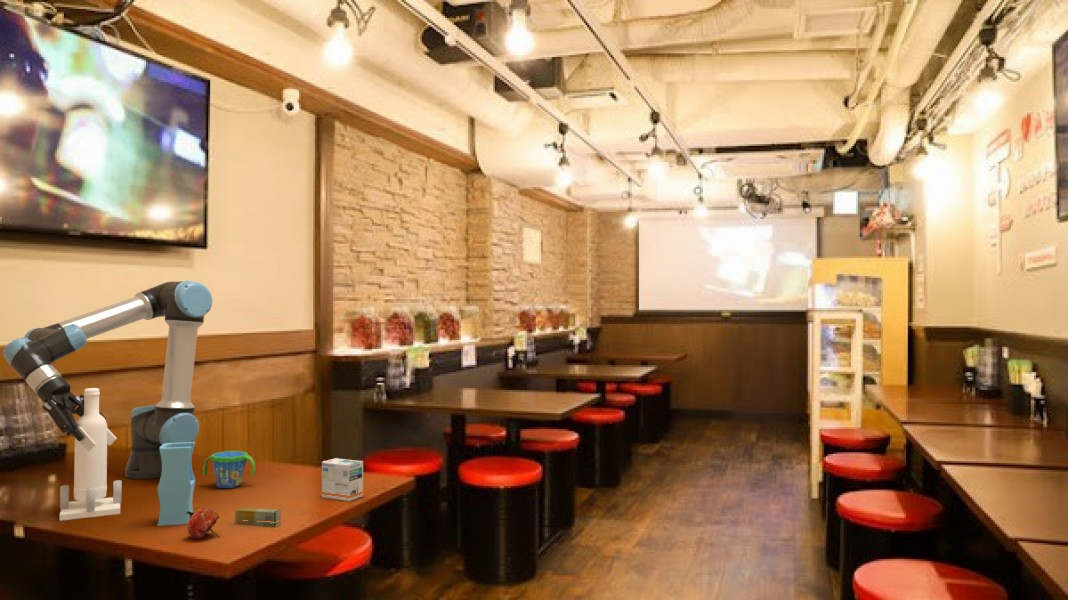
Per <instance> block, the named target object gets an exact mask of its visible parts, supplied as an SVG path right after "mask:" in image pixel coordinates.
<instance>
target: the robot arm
mask: <svg viewBox="0 0 1068 600" xmlns="http://www.w3.org/2000/svg"><path fill="white" fill-rule="evenodd" d="M212 305H213V296H212V293H211V292H210V290H209V289H208V288H207V286H206V285H204V284H203V283H200V282H199V281H198V282H197V281H192V280H183V281H167V282H164V283H163V282H162V283H161V284H158V285H154V287H151V288H148V289H145V290H142V291H140V292H136V294H135V295H134V297H131V298H128V299H126V300H125V299H124V300H122V301H119V302H116V303H114V304H111V305H107V306H104V307H102V308H99V309H96V310H93V311H90V312H87V313H83V314H81V315H78V316H75V317H74V316H73V317H72V318H69V319H65V320H61V321H59V322H56V323H54V324H51V325H48V326H45V327H37V328H32V329H30V330H29V331H27V332H26V333H25V334H24V337H21V338H20V337H19V338H16V339H14V340H12V341H10V342H9V343H7V345H5V347H4V348H3V349H2V356H3V357H4V359H5V360H6V362H7V363H8V364H9V366H10V367H12V368H13V370H14V372H16V373H17V375H19V376H20V377H21V379H23V380H24V381H25V382H26V384H27V385H28V386H29V387H30V388H31V389H32V390H33V392H35V393H36V395H37V397H38V398H39V399H40V400H41V401H42V403H44V404H43V406H42V408H43V410H44V411H45V412H47V413H48V414H49V416H50V418H52V420H53V422H54V423H55V424H56V426H57V428H58V429H59V430H60V432H61V433H64V434H66V436H68V437H69V436H71V435H72V436H73V437H74V439H75V438H76V439H77V440H78V441H79V442H80V443H81V444H82V445H83V446H84V448H85V449H86V450H87V451H90V450H91V449H92V448H93V447H94V446H95V445H96V443H95V442H94V441H93V439H92V438H91V437H90V436H89V435H88V434H87V433H86V432H85V431H84V429H83V428H82V427H79V428H78V429H77V427H78V426H77V424H76V423H77V421H76V419H75V417H74V415H77V416H78V417H79V418H80V417H82V416H83V415H84V394H80V395H79V396H77V395H75V394H74V393H72V391H71V389H72V388H71V387H72V386H71V384H70V383H69V382H68V381H67V380H66V379H65V378H64V377H62V374H61V373H60V372H59V371H58V370H57V369H56V368H55V367H54V365H53V364H52V363H54V362H56V361H58V360H60V359H62V358H65V357H66V356H68V355H70V354H72V353H74V352H78V351H79V350H80V349H82V348H83V347H85V346H87V343H88V339H91V338H92V337H93V338H94V337H97V336H100V335H101V334H104V333H107V332H110V331H113V330H116V329H119V328H121V327H123V326H128V325H129V324H133V323H135V322H138V321H142V320H146V321H150V320H154V319H156V318H160V317H161V318H162V317H164V323H166V324H167V326H168V334H167V344H166V353H165V363H164V364H165V365H164V372H163V381H162V389H161V390H162V391H161V400H160V401H159V402H157V403H156V404H155V405H145V406H137V407H133V408H132V410H131V415H130V416H131V417H130V422H131V424H130V427H131V428H130V433H131V434H130V435H131V436H130V440H131V441H130V455H129V458H128V461H127V463H126V467H125V468H124V477H125V478H127V479H131V480H147V479H158V478H161V473H162V460H161V454H160V449H159V448H160V447H161V446H162V445H163V444H165V443H180V442H195V440H196V439H197V437H198V436H199V432H200V423H199V420H198V418H197V417H196V416H195V411H196V410H195V409H196V406H195V405H194V404H193V402H192V401H191V399H192V387H193V378H194V369H195V368H194V367H195V360H196V358H195V357H196V348H197V340H198V332H199V328H200V327H201V326H202V325H204V320H205V316H206V315H207V314H208V313H209V312H210V311H211V309H212V307H213V306H212ZM99 414H100V415H101V416H103V417H104V418H105V420H106V419H107V417H106V416H105V414H103V413H102V412H100V411H99ZM117 439H118V438H117V437H116V436H115V435H114V434H113V432H112V431H111V430H110V428H109V427H108V426H107V446H111V445H112V444H113V443H114V442H116V440H117Z"/></svg>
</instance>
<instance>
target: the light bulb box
mask: <svg viewBox="0 0 1068 600" xmlns="http://www.w3.org/2000/svg"><path fill="white" fill-rule="evenodd" d="M362 491H363V493H362V494H360V495H357V496H354V497H351V498H346V497H339V496H332V495H325V494H322V492H325V493H331V494H339V495H347V496H351V495H353V494H357V493H360V492H362ZM361 497H364V461H363V460H354V459H353V460H352V459H345V458H338V457H336V458H332V459H328V460H323V461H321V498H325V499H333V500H339V501H345V502H351V501H353V500H356V499H359V498H361Z"/></svg>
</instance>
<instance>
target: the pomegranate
mask: <svg viewBox="0 0 1068 600" xmlns="http://www.w3.org/2000/svg"><path fill="white" fill-rule="evenodd" d="M186 514H189V515H190V519H189V521H188V522H187V524H185V525H186V531H187V533H188V535H189V536H190V537H191V538H193V539H197V540H201V539H202V538H203V537H204V536H205V535H206V534H208V532H211V533H212V534H215V535H216V536H217V537H219V538H220V536H221V535H219V534H218V532H215V531H214V530H213V529H212V528H213V526H215V524H216V523H217V521H218V520H219V519H220V515H219V513H218V512H217V511H216V510H215V509H213V508H210V507H202V508H199V509H197V511H195V512H193V513H192V512H189V511H188V512H187V513H186Z"/></svg>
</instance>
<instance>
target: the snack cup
mask: <svg viewBox="0 0 1068 600" xmlns="http://www.w3.org/2000/svg"><path fill="white" fill-rule="evenodd" d="M209 460H211V462H212V464H213V467H212V468H213V474H214V480H215V481H214V482H215V486H216V487H217V488H219V489H233V488H238V487H241V486H242V484H243V481H244V479H243V478H244V472H245V468H246V464H247V461H249V462H250V464H251V466H252V467H251V474H250V476H251V477H253V476H254V475H255V473H256V462H255V461H254V458H253V457H252V456H250V455H249V454H248V452H246V451H242V450H241V451H239V450H227V451H225V450H224V451H220V452H215V453H212V454H211V455H210V456H209V457H207V458H206V459H205V460H204V463H203V467H202V473H203V476H205V477H206V476H207V475H208V473H209V472H208V467H207V466H208V462H209ZM240 483H241V484H240ZM236 484H238V485H236ZM231 485H232V486H231Z"/></svg>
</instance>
